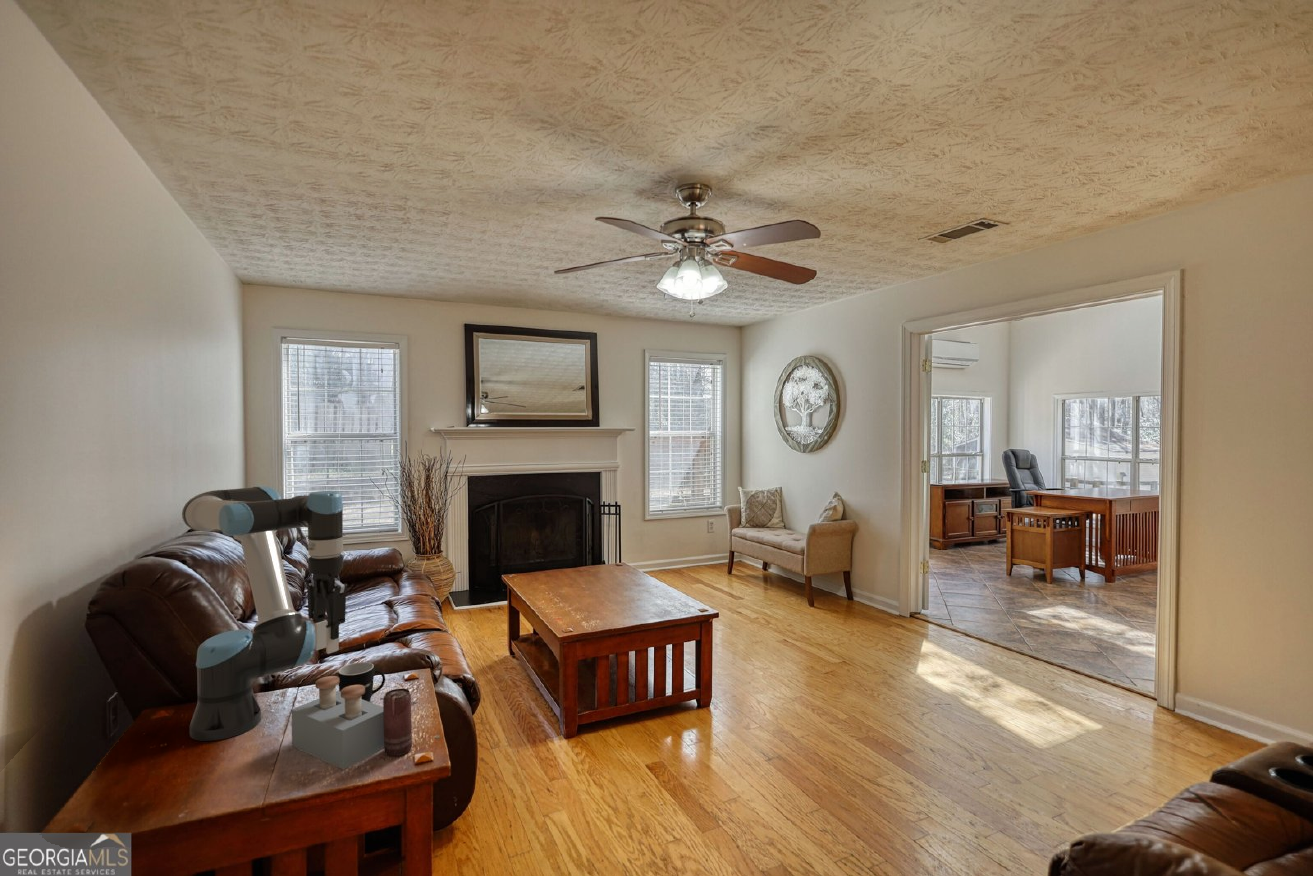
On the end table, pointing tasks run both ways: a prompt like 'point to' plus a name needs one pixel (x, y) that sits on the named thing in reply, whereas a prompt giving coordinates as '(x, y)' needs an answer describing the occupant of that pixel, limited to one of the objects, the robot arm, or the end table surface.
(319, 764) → the end table surface
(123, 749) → the end table surface
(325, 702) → the peg
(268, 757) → the end table surface
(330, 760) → the socket block
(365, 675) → the mug
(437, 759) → the end table surface
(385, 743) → the can
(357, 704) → the peg
